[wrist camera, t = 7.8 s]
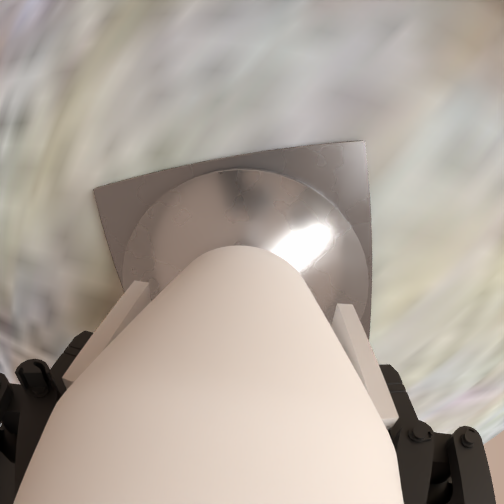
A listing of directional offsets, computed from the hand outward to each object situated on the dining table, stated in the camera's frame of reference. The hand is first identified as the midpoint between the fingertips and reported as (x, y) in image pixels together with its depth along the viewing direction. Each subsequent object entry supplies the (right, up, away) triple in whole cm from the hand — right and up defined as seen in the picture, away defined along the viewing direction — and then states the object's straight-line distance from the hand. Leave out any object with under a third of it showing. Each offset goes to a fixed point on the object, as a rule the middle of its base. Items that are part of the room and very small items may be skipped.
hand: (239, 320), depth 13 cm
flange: (0, +1, +3) cm, 3 cm away
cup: (0, 0, +1) cm, 1 cm away
